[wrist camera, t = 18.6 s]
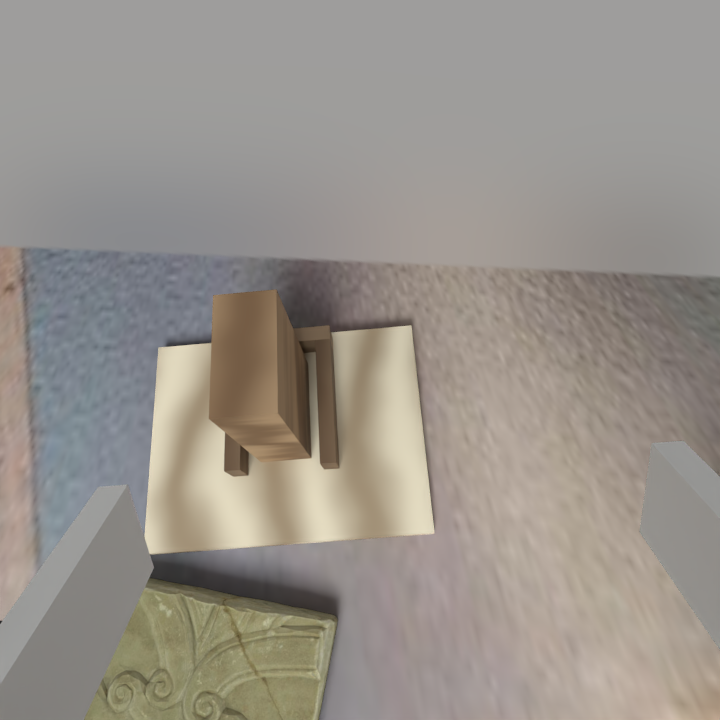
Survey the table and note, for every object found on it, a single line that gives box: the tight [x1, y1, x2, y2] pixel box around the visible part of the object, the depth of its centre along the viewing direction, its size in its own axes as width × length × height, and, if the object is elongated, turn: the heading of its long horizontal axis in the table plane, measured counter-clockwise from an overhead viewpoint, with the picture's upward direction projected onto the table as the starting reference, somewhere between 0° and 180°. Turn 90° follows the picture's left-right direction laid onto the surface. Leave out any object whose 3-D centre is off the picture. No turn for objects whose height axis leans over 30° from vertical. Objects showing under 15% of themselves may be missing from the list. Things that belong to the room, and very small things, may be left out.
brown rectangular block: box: [209, 290, 311, 462], centre depth 39 cm, size 4×8×13 cm, turn 4°
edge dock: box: [144, 325, 434, 555], centre depth 44 cm, size 22×17×4 cm
